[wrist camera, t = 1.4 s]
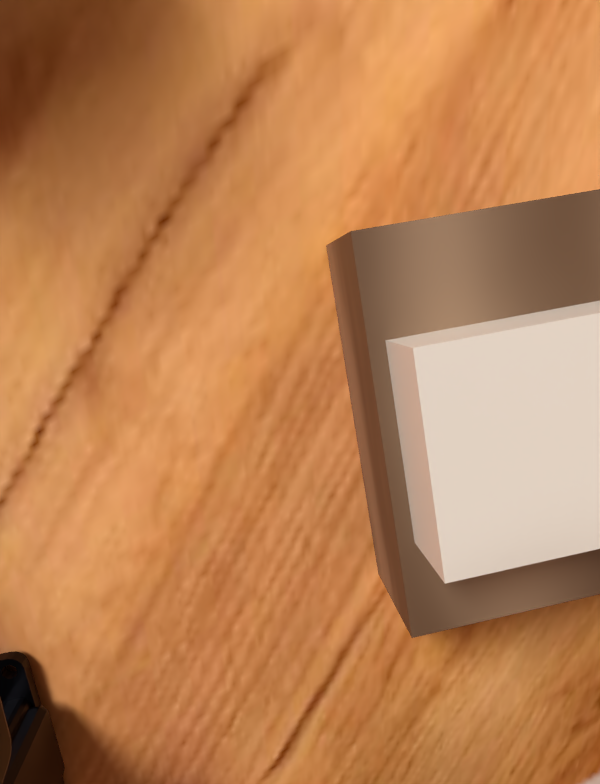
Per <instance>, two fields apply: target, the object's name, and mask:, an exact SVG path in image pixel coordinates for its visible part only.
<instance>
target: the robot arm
mask: <svg viewBox="0 0 600 784" xmlns="http://www.w3.org/2000/svg"><path fill="white" fill-rule="evenodd" d="M7 665H12V666H14V667H15V668H16V669H17V671H11V670H9V669H8V668H7V667H6V666H7ZM63 772H64V763H63V760H62V756H61V753H60V749H59V746H58V742H57V739H56V735H55V732H54V729H53V725H52V722H51V718H50V715H49V711H48V710H47V709H46V708H45V707H44V706H42V705H41V702H40V699H39V695H38V692H37V688H36V685H35V682H34V678H33V675H32V671H31V668H30V665H29V661H28V659H27V658H26V656H24V655H23V654H22V653H19V652H8V653H3V654H0V784H64V781H63V777H62V775H63Z"/></svg>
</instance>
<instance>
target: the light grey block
mask: <svg viewBox="0 0 600 784" xmlns="http://www.w3.org/2000/svg"><path fill="white" fill-rule="evenodd" d="M385 341H386V348H387V355H388V362H389V369H390V375H391V382H392V389H393V396H394V403H395V410H396V417H397V424H398V431H399V438H400V445H401V451H402V458H403V465H404V472H405V479H406V486H407V493H408V500H409V507H410V514H411V520H412V527H413V534H414V541H415V544H416V545H417V546H418V548H419V549H420V551H421V552H422V553H423V555H424V556H425V557H426V559H427V560H428V561H429V563H430V564H431V565H432V567H433V568H434V570H435V571H436V572H437V574H438V575H439V576H440V578H441V579H442V580H443V582H444V583H445V584H446V583H450V582H455V581H459V580H463V579H468V578H472V577H477V576H481V575H486V574H490V573H494V572H499V571H503V570H508V569H512V568H517V567H521V566H525V565H530V564H534V563H539V562H543V561H548V560H552V559H556V558H561V557H565V556H570V555H574V554H579V553H583V552H588V551H592V550H596V549H600V301H595V302H589V303H584V304H579V305H573V306H568V307H563V308H557V309H552V310H547V311H541V312H536V313H530V314H525V315H520V316H514V317H509V318H504V319H498V320H493V321H487V322H482V323H477V324H471V325H466V326H461V327H455V328H450V329H444V330H439V331H434V332H428V333H423V334H418V335H412V336H407V337H402V338H396V339H391V340H385Z"/></svg>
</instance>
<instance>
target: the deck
mask: <svg viewBox="0 0 600 784" xmlns="http://www.w3.org/2000/svg"><path fill="white" fill-rule="evenodd" d="M326 247H327V253H328V259H329V266H330V272H331V278H332V285H333V291H334V297H335V303H336V310H337V316H338V322H339V328H340V335H341V341H342V347H343V354H344V360H345V366H346V372H347V379H348V385H349V391H350V398H351V404H352V410H353V416H354V423H355V429H356V435H357V441H358V448H359V454H360V460H361V467H362V473H363V479H364V485H365V492H366V498H367V504H368V511H369V517H370V523H371V529H372V536H373V542H374V548H375V555H376V561H377V567H378V573H379V576H380V578H381V579H382V581H383V583H384V585H385V587H386V589H387V591H388V593H389V595H390V597H391V599H392V600H393V602H394V604H395V606H396V608H397V610H398V612H399V614H400V616H401V618H402V620H403V622H404V623H405V625H406V627H407V629H408V631H409V633H410V635H411V637H412V638H413V637H418V636H422V635H426V634H431V633H435V632H439V631H444V630H448V629H452V628H456V627H461V626H465V625H469V624H474V623H478V622H482V621H486V620H491V619H495V618H499V617H504V616H508V615H512V614H517V613H521V612H525V611H529V610H534V609H538V608H542V607H547V606H551V605H555V604H560V603H564V602H568V601H572V600H577V599H581V598H585V597H590V596H594V595H598V594H600V549H596V550H592V551H588V552H583V553H579V554H574V555H570V556H565V557H561V558H556V559H552V560H548V561H543V562H539V563H534V564H530V565H525V566H521V567H517V568H512V569H508V570H503V571H499V572H494V573H490V574H486V575H481V576H477V577H472V578H468V579H463V580H459V581H455V582H450V583H446V584H445V583H444V582H443V580H442V579H441V578H440V576H439V575H438V574H437V572H436V571H435V570H434V568H433V567H432V565H431V564H430V563H429V561H428V560H427V559H426V557H425V556H424V555H423V553H422V552H421V551H420V549H419V548H418V546H417V545H416V544H415V541H414V534H413V527H412V520H411V514H410V507H409V500H408V493H407V486H406V479H405V472H404V465H403V458H402V451H401V445H400V438H399V431H398V424H397V417H396V410H395V403H394V396H393V389H392V382H391V375H390V369H389V362H388V355H387V348H386V341H385V340H391V339H396V338H402V337H407V336H412V335H418V334H423V333H428V332H434V331H439V330H444V329H450V328H455V327H461V326H466V325H471V324H477V323H482V322H487V321H493V320H498V319H504V318H509V317H514V316H520V315H525V314H530V313H536V312H541V311H547V310H552V309H557V308H563V307H568V306H573V305H579V304H584V303H589V302H595V301H600V189H599V190H593V191H587V192H581V193H575V194H569V195H563V196H557V197H551V198H545V199H540V200H534V201H528V202H522V203H516V204H510V205H504V206H498V207H492V208H486V209H480V210H474V211H468V212H462V213H456V214H451V215H445V216H439V217H433V218H427V219H421V220H415V221H409V222H403V223H397V224H391V225H385V226H379V227H373V228H367V229H362V230H356V231H350V232H349V233H347V234H345V235H344V236H342V237H340V238H338V239H337V240H335V241H333V242H332V243H330V244H328V245H327V246H326Z"/></svg>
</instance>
